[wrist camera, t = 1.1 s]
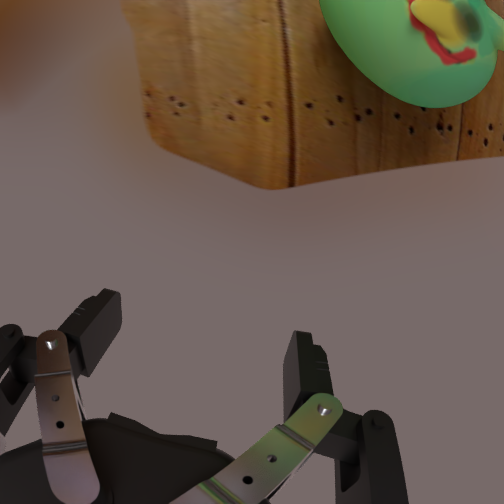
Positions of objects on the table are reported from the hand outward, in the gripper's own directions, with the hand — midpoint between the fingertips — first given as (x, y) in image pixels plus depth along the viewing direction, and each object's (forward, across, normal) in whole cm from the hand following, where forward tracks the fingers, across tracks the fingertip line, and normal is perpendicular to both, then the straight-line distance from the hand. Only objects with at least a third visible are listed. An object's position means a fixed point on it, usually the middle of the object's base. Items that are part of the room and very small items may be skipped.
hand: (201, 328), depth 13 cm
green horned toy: (+21, -12, -25) cm, 35 cm away
